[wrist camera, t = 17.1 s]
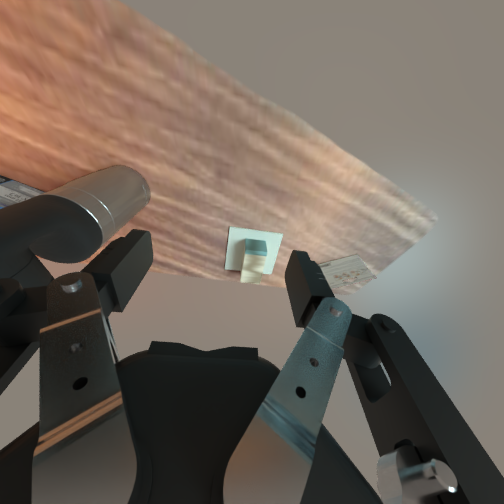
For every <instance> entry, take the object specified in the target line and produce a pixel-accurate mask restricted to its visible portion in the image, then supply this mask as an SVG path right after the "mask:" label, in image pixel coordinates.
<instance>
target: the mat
mask: <svg viewBox="0 0 504 504" xmlns="http://www.w3.org/2000/svg"><path fill="white" fill-rule="evenodd" d="M282 236H283V234H282V233H275V232H268V231H260V230H253V229H246V228H238V227H231V226H230V229H229V237H228V246H227V254H226V263H225V269H228V270H237V271H241V264H242V258H243V252H244V246H245V240H246V238H247V239H256V240H264V241H266V246H267V256H266V261H265V265H264V269H263V273H264V274H272V270H273V267H274V263H275V260H276V257H277V253H278V250H279V246H280V243H281V239H282Z"/></svg>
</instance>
